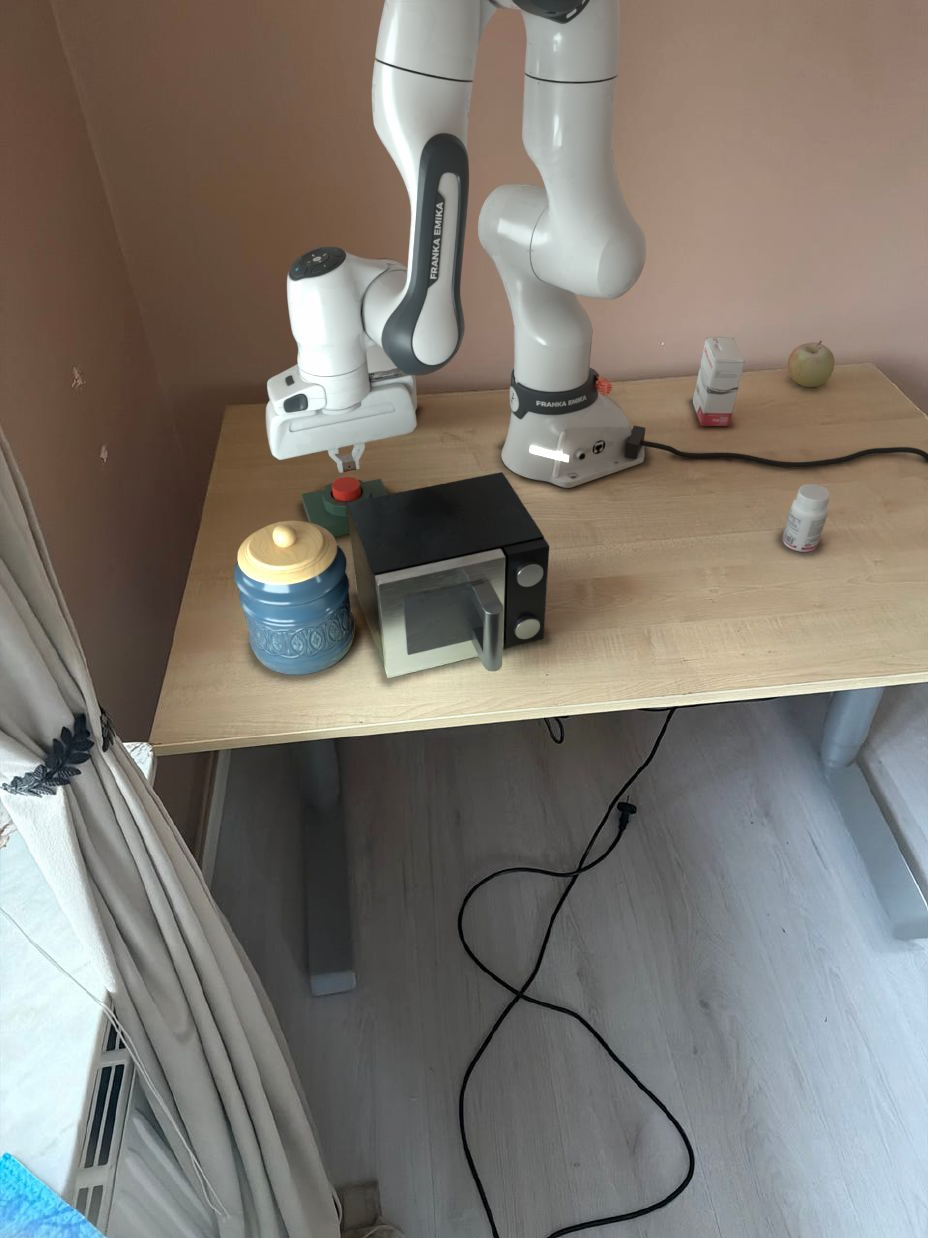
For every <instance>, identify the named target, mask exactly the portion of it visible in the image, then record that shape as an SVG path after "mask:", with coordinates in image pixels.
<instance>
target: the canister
mask: <svg viewBox="0 0 928 1238" xmlns="http://www.w3.org/2000/svg"><path fill="white" fill-rule="evenodd" d="M236 558H237V561H236V563H235V566H234V569H233V579H234V580H233V581H234V583H235V585H236V587H237V589H238V590H239V593H238V597H239V603H240V606H241V608H242V610H243V614H244V618H245V622H246V626H247V636H248V637H247V638H248V641H249V645H250V647H251V650H252V652H253V653H254V654H255V657H256V658H257V659H258V661H259V662H260V663H261V664H262V665H263V666H264V667H266V668H267V669H269V670H271V671H273V672H276V673H281V674H284V675H294V676H295V675H297V676H299V675H309V674H313V673H317V672H320V671H323V670H326V669H328V668H330V667H332V666H334V665H335V664H337V663H338V662H339V661H340V660H342V659H343V658H344V657H345V656H346V655H347V653H349V651H350V649H351V647H352V646H353V643H354V638H355V636H354V635H355V632H356V623H355V616H354V614H353V611H352V604H351V597H350V596H351V595H350V580H349V577H348V575H347V573H346V571H347V568H348V567H347V565H348V563H347V557H346V554H345V552H344V550H343V549H342V548H341V546H339V544H338V543H337V541H336V537H334V536H333V535H332V534H331V533H330V532H329V531H328V530H326V529H325V528H323V527H321V526H319V525H316V524H313V523H309V521H301V520H284V521H277V522H273V523H271V524H268V525H266V526H264V527H262V528H260V529H257V530H256V531H254V532H253V533H251V534H250V535H249V536H248V537H246V538H245V540H244V541H243V542H242V543H241V544H240V547H239V548H238V550H237V557H236Z"/></svg>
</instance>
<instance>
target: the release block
mask: <svg viewBox="0 0 928 1238" xmlns="http://www.w3.org/2000/svg"><path fill="white" fill-rule="evenodd" d="M356 479H357V480H359V482H360V488H361V495H360V497H359V498H358V499H356V500H354V501H357V500H362V499H367V498H372V497H377V496H383V495H388V494H389V493H388V491H387V489H386V487H385V485H384V483H383V480H382V479H381V478H376V479H372V480H365V481H363V480H361V479H358V478H356ZM332 483H333V482H330V483H329V484H327V485H326V486H325V487H324V489H320V490H314V491H308V492H304V493H303V492H302V493H301V500H302V505H303V510H304V512H305V516H306V518H307V520H308V521H307V522H308V523H313V524H316V525H319V526H321V527H323V528H325V529H326V530H328V531H329V532H330V533H331V534H332V535H333V536H334V538H337V537H341V536H347V535H350V530H349V522H348V514H347V506H346V503H347V502H342V501H337V500H335V499H334V497H333V491H332ZM348 502H352V501H348Z"/></svg>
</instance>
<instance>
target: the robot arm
mask: <svg viewBox="0 0 928 1238" xmlns="http://www.w3.org/2000/svg"><path fill="white" fill-rule="evenodd" d="M498 9H503V10H519V11H520V14H521V16H522V20H523V23H524V29H525V35H526V44H525V45H526V46H525V57H524V58H525V59H524V74H523V97H522V99H523V101H522V120H521V121H522V123H521V124H522V125H521V126H522V127H521V139H522V145H523V148H524V150H525V153H526V154H527V156H528V157H529V158H530V160H531V161H532V163H533V164H534V165H535V167H536V169H537V170H538V172H539V174H540V176H541V178H542V182H543V184H544V187H543V186H541V185H537V184H531V183H530V184H528V183H527V184H526V183H506V184H502V185H500V186H498V187H496V188H495V189H494V190H492V192H490V193H489V195H488V196H487V197H486V199H485V201H484V202H483V204H482V206H481V209H480V212H479V215H478V221H477V234H478V239H479V242H480V243H479V244H480V245H481V247H482V248H483V250H484V251H485V253H486V254H487V255H488V256H489V258H490V259H491V261H492V263H493V265H494V267H495V268H496V270H497V272H498V274H499V277H500V280H501V282H502V285H503V289H504V290H505V294H506V297H507V300H508V303H509V309H510V311H511V317H512V323H513V340H514V341H513V349H514V351H513V353H514V354H513V355H514V357H513V359H514V360H513V361H514V362H513V369H512V371H511V374H510V387H509V406H510V410H511V411H510V418H509V425H508V429H507V434H506V438H505V441H504V444H503V447H502V449H501V460H502V462H503V464H504V465H505V466H506V467H507V468H508V469H509V470H510V471H512V472H513V473H515V474H517V475H519V476H521V477H523V478H527V479H531V480H535V481H541V482H547V483H551V484H553V485H554V486H555V485H556V486H557V487H560V488H564V489H571V488H574V487H577V486H580V485H583V484H585V483H586V484H587V483H589V482H591V481H595V480H597V479H600V478H603V477H605V476H608V475H611V474H614V473H618V472H621V471H623V470H626V469H629V468H632V467H634V466H637V465H640V464H642V463H644V461H645V447H648V448H651V449H657V450H662V451H666V452H669V453H672V454H673V455H675V456H677V457H680V458H685V459H686V458H687V459H695V460H697V459H699V460H700V459H701V460H702V459H703V460H704V459H735V460H742V461H748V462H752V463H757V464H763V465H766V466H772V467H781V468H813V467H823V466H828V465H829V466H830V465H837V464H842V463H846V462H850V461H853V460H856V459H858V458H861V457H864V456H871V455H877V454H878V455H879V454H895V453H896V454H897V453H904V454H905V453H907V454H914V455H918V456H919V457H922V458H924V460H926V461H927V462H928V452H926V451H925V450H922V449H919V448H916V447H910V446H894V447H893V446H891V447H874V448H868V449H867V448H866V449H864V450H859V451H856V452H854V453H851V454H849V455H845V456H841V457H835V458H828V459H820V460H812V461H782V460H774V459H768V458H764V457H760V456H755V455H750V454H745V453H736V452H687V451H683V450H682V451H681V450H679V449H677V448H675V447H673V446H670V445H667V444H663V443H659V442H654V441H648V440H645V435H646V427H645V426H640V425H633V426H632V424H631V421H630V418H629V416H628V415H627V414H626V412H625V410H624V409H623V408H622V407H621V406H620V405H619V403H618V402H616V400H614V399H613V398H611V397H610V396H609V394H610V393H611V392H612V389H613V385H612V383H611V382H610V381H608V378H606V377H600V374H599V372H598V371H596V369H594V368H592V367H591V354H592V345H593V344H592V343H593V331H594V330H593V324H592V320H591V317H590V316H589V314H588V312H587V310H586V309H585V308H584V307H583V305H582V304H581V302H580V301H579V299H578V297H577V296H580V297H584V298H585V297H586V298H591V299H592V298H593V299H602V300H616V299H618V298H621V297H622V296H624V295H625V294H626V293H628V292H629V291H630V290H631V288H633V286H635V284H636V283H637V282H638V280H639V278H640V276H641V274H642V273H643V270H644V267H645V264H646V258H647V242H646V236H645V233H644V230H643V228H641V226H640V225H639V224H638V222H637V221H636V220H635V218H634V217H633V215H632V213H631V212H630V209H629V207H628V205H627V202H626V201H625V198H624V195H623V192H622V189H621V186H620V182H619V177H618V173H617V169H616V164H615V155H614V121H615V110H616V109H615V108H616V97H617V96H616V95H617V86H618V77H619V75H618V74H619V65H620V47H621V46H620V45H621V13H620V12H621V11H620V10H621V9H620V0H384V4H383V9H382V13H381V16H380V17H381V18H380V21H379V28H378V32H377V33H378V34H377V40H376V47H375V52H374V63H373V71H372V81H371V109H372V123H373V127H374V129H375V131H376V134H377V136H378V138H379V139H380V141H381V143H382V145H383V146H384V148H385V149H386V151H387V152H388V154H389V155H390V158H391V159H392V160H393V162H394V164H395V166H396V168H397V170H398V171H399V173H400V176H401V178H402V180H403V182H404V185H405V187H406V191H407V195H408V198H409V206H410V228H409V245H408V256H407V266H406V265H404V264H403V263H401V262H399V261H397V260H395V259H393V258H385V257H384V258H383V257H382V258H375V259H374V258H366V257H361V256H357V255H354V254H352V253H349V252H347V251H346V250H345V249H344V248H341V247H338V246H320V247H316V248H312V249H310V250H307V251H305V252H304V253H303V254H301V255H299V256H298V257H297V258H296V259H295V260H294V261H293V262H292V263H291V265H290V267H289V269H288V272H287V276H286V296H287V297H286V298H287V307H288V309H287V310H288V315H289V322H290V323H289V324H290V329H291V333H292V335H293V338H294V340H295V341H296V345H297V356H296V359H297V364H295V365H293V366H291V367H290V368H288V369H286V370H284V371H282V372H279V374H276V375H274V376H272V377H270V378H269V379H268V380H267V382H266V389H267V395H268V399H269V401H268V402H267V404H266V407H265V426H266V427H265V428H266V429H265V430H266V436H267V441H268V446H269V449H270V452H271V456H273V457H275V458H276V459H277V460H279V461H282V460H286V459H292V458H296V457H302V456H306V455H311V454H317V453H321V452H325V451H326V452H327V454H328V456H329V458H331V459H332V460H333V461H334V462H335V464H336V467H337V470H338V472H339V474H343V473H347V472H351V471H357V470H360V469H361V467H360V466H361V465H360V459H361V457H362V455H363V453H364V452H365V450H366V445H365V443H369V442H374V441H380V440H383V439H388V438H393V437H398V436H404V435H408V434H411V433H413V432H414V431H415V429H416V427H417V426H418V422H417V420H418V419H417V414H416V411H415V410H414V405H413V402H412V399H411V395H412V394H413V392H414V380H413V376H412V375H415V376H419V377H420V376H425V375H426V376H427V375H430V374H433V373H434V372H435V373H436V372H437V371H439V370H441V369H442V368H444V367H445V366H446V365H448V364H449V363H450V362H451V361H452V359H454V358H455V356H456V355H457V353H458V351H459V349H460V347H461V345H462V343H463V340H464V337H465V336H464V335H465V330H466V329H465V325H466V324H465V317H464V316H465V315H464V310H463V305H462V299H461V281H462V271H463V270H462V269H463V260H464V249H465V239H466V229H467V216H468V208H469V207H468V205H469V191H470V164H469V163H470V162H469V161H470V160H469V154H468V153H469V150H468V133H469V131H468V130H469V117H470V107H471V99H472V92H473V86H474V79H475V75H476V67H477V61H478V60H477V59H478V52H479V45H480V42H481V39H482V36H483V33H484V31H485V30H486V27H487V25H488V23H489V21H490V20H491V18H492V17H493V15H494V14H495V13H496V12H497V11H498ZM376 344H377V345H378V346H379V347H381V348H382V349H383V350H384V352H385V353H386V355H387V356H388V357H389V358H390V360H391V361H392V362H393V363H394V365H395V366H396V367H397V368H394V369H391V370H388V371H378V372H373V373H369V372H368V364H367V355H366V351H367V349H368V348H369V347H370V346H372V345H376ZM402 373H404V374H402ZM349 446H353V448H352V451H351V453H348V454H344V455H340V454H339V453H340V451H339V449H340V448H345V447H349Z"/></svg>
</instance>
